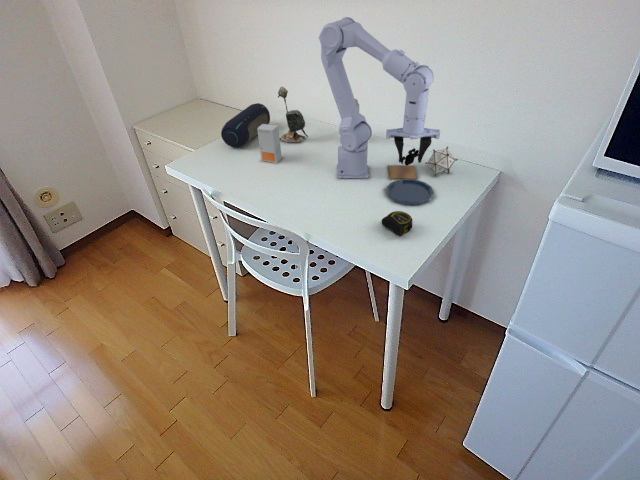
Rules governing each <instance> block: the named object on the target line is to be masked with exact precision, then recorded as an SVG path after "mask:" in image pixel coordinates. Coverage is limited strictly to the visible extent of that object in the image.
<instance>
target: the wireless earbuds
mask: <svg viewBox="0 0 640 480" xmlns="http://www.w3.org/2000/svg"><path fill="white" fill-rule="evenodd" d="M407 153H408V154H406V155H402V162H401V165H412V164H413V163H414V162H415V158H418V153H419V149H416V148H412V149H409V150H408V152H407Z"/></svg>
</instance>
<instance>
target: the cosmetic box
mask: <svg viewBox="0 0 640 480" xmlns="http://www.w3.org/2000/svg"><path fill="white" fill-rule="evenodd" d="M279 128H280V127H279V125H276V124H270V123H269V124H262V125H261V126H259V127H258V128H257V130H258V134H257V137H258V138H257V139H258V145H259V153H260V159H261V161H262V162H267V163H274V164H278V163H279V161H281V160H282V148H281V140H280V138H281V137H280V129H279Z"/></svg>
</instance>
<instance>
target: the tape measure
mask: <svg viewBox="0 0 640 480" xmlns="http://www.w3.org/2000/svg"><path fill="white" fill-rule="evenodd" d="M381 225H382V226H383V227H384V228H385V229H387V230H389V231H390V232H391V233H393V234H394V235H396V236H397V237H399V238H400V237H402V236H404V234H407V233H408V232H410V230H411V229H412V228H413V218H412V216H411V215H410V214H409V213H408V212H405V211H402V210H396V211H392V212H390V213H388V214H387V215H386V216H384V217H382V219H381Z"/></svg>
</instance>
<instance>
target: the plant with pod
mask: <svg viewBox="0 0 640 480" xmlns="http://www.w3.org/2000/svg"><path fill="white" fill-rule="evenodd" d="M288 93H289V91H288V90H287V89H286V88H285V86H280V87H279V89H278V91H277V94H278V96H277V98H280V97H281V98H282V99H283V101H284V104H285V110H286V113H285V119H286V122H287V123H286V124H287V128H288V129H289V130H288V131H287V133H284V134H283V135H281V137H280V141H282V142H286V143H301V142H303V141H304V140H305V138H309V135H308V134H306V131H305V130H304V128H305V127H306V121H305V119H304V117H305V116H303V114H302V112H301V111H300V110H298V109H293V110H289V111H288V105H287V99H286V98H287V96H288ZM298 131H301V132H302V133H303V134H304V135H302V134H299V133H298Z"/></svg>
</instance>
